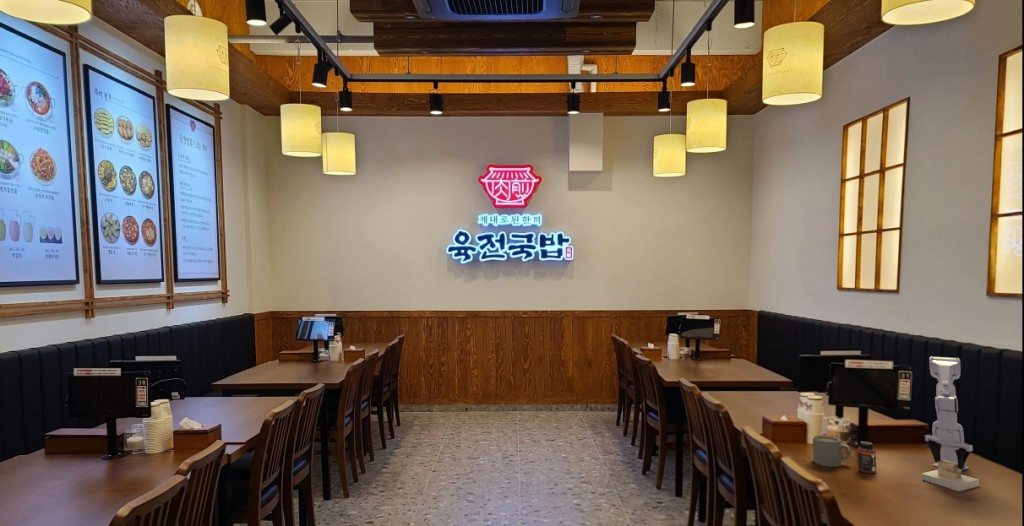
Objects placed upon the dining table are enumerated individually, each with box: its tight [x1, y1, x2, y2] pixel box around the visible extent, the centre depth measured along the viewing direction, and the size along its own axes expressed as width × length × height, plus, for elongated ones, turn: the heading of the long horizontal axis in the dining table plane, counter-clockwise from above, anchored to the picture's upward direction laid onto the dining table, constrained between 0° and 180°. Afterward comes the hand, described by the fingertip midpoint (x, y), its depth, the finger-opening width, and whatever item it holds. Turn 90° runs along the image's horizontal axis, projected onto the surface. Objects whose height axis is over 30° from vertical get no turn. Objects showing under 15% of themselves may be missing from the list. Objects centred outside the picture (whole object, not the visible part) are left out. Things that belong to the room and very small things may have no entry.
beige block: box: [921, 469, 980, 492], centre depth 196 cm, size 12×12×3 cm
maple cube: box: [937, 460, 962, 480], centre depth 196 cm, size 5×5×5 cm
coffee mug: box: [812, 434, 852, 468], centre depth 218 cm, size 13×10×10 cm
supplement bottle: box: [857, 440, 877, 475], centre depth 209 cm, size 6×6×11 cm
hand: (949, 465), depth 196 cm, fingers open, 7 cm apart
